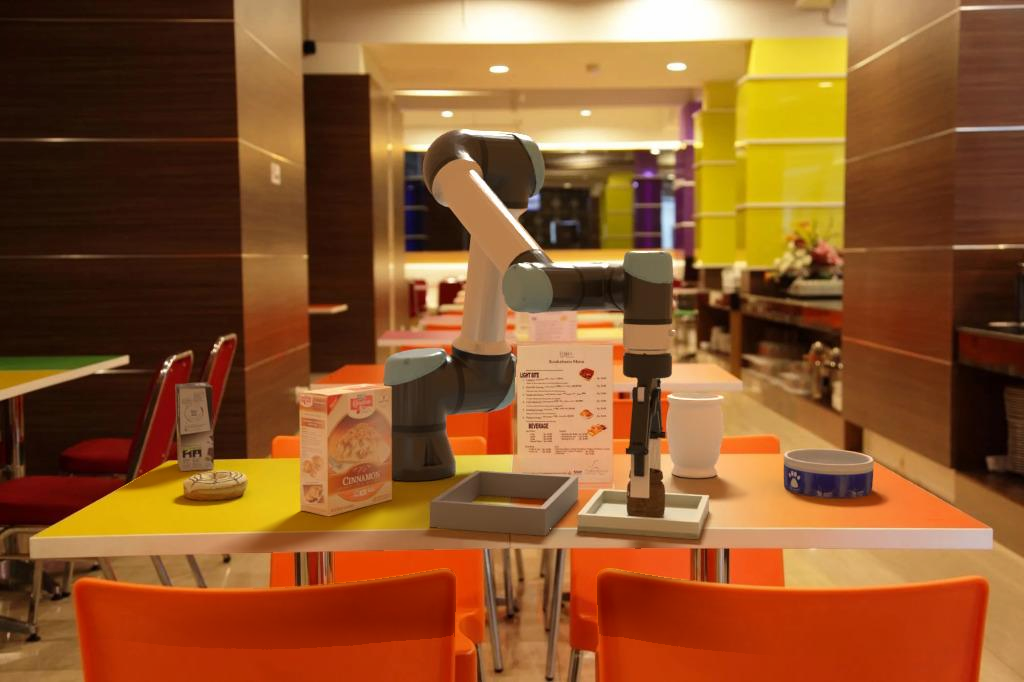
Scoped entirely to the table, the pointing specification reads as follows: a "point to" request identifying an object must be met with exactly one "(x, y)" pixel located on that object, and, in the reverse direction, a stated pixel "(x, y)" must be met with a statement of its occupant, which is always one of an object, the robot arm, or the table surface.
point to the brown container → (656, 500)
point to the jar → (694, 433)
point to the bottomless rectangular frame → (463, 515)
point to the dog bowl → (828, 473)
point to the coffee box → (194, 426)
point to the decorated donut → (215, 485)
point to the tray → (612, 517)
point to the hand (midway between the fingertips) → (646, 487)
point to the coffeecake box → (345, 448)
